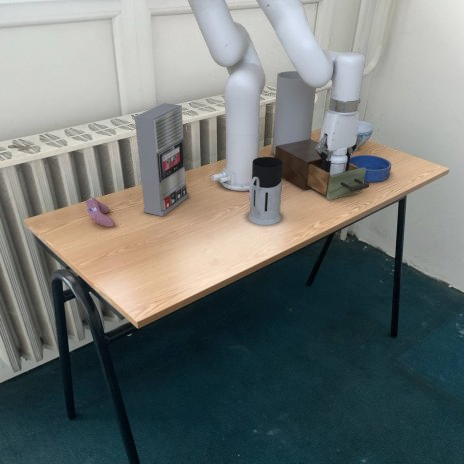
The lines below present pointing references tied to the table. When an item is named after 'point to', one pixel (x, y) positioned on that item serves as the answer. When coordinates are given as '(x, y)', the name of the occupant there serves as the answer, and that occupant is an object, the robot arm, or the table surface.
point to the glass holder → (265, 191)
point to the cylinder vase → (292, 109)
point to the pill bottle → (338, 161)
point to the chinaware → (364, 132)
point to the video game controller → (99, 212)
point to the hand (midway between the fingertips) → (334, 170)
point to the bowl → (372, 167)
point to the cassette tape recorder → (161, 158)
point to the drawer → (336, 181)
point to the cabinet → (297, 161)
